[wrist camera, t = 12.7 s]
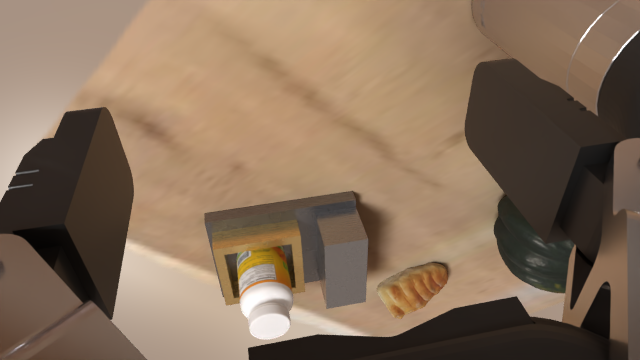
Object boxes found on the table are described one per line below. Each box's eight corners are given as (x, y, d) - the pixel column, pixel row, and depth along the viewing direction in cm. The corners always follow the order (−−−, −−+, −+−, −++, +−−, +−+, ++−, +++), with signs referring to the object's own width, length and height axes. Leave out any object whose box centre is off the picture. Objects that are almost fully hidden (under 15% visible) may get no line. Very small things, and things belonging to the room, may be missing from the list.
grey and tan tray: (352, 191, 52) (368, 231, 47) (351, 265, 60) (365, 307, 55) (204, 213, 50) (205, 258, 45) (222, 287, 58) (224, 333, 53)
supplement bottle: (285, 267, 56) (299, 339, 48) (239, 274, 55) (245, 348, 47) (283, 233, 52) (297, 305, 45) (233, 240, 51) (239, 314, 44)
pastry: (432, 249, 61) (444, 271, 59) (451, 274, 66) (463, 296, 63) (370, 284, 63) (379, 308, 60) (392, 306, 67) (401, 329, 65)
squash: (458, 266, 55) (587, 348, 50) (520, 157, 48) (681, 239, 42) (493, 221, 66) (602, 284, 60) (549, 127, 59) (680, 189, 53)
